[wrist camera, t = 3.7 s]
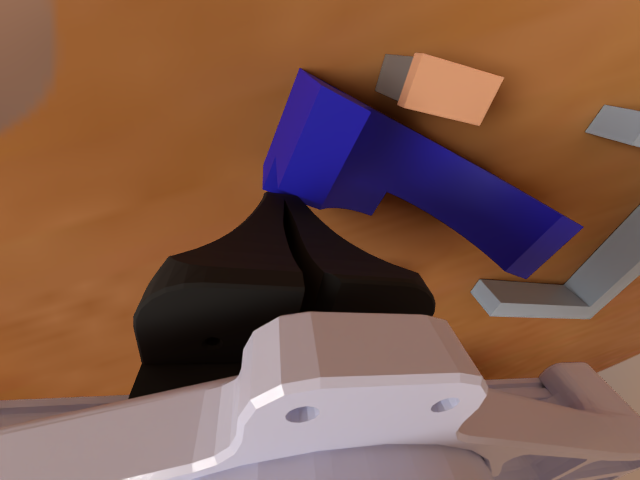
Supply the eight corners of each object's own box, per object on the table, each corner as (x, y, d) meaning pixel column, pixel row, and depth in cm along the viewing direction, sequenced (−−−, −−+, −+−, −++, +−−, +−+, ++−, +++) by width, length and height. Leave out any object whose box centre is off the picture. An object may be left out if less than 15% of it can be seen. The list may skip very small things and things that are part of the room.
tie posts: (362, 281, 19) (378, 323, 16) (318, 279, 19) (327, 322, 16) (448, 69, 12) (503, 77, 10) (384, 50, 12) (422, 53, 9)
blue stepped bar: (263, 163, 14) (261, 228, 9) (299, 67, 12) (321, 84, 7) (439, 232, 18) (501, 300, 13) (488, 171, 16) (583, 226, 11)
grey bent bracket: (564, 297, 24) (589, 319, 22) (470, 292, 22) (490, 316, 20) (719, 139, 17) (777, 152, 15) (604, 104, 15) (656, 114, 13)
